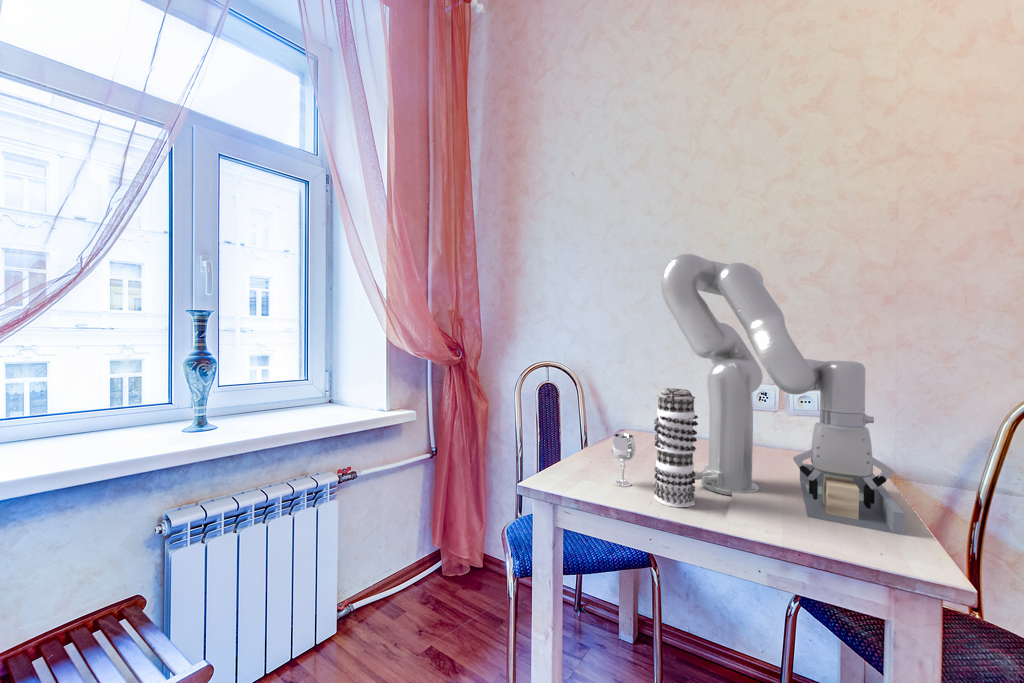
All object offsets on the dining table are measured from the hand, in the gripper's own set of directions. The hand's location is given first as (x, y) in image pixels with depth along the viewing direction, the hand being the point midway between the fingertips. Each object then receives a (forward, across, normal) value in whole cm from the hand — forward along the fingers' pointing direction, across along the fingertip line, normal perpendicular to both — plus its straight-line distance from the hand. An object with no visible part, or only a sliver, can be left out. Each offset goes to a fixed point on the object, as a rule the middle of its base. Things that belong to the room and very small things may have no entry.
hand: (840, 501), depth 91 cm
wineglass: (+2, +44, +7) cm, 45 cm away
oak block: (+1, 0, 0) cm, 1 cm away
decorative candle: (+3, +31, +12) cm, 33 cm away
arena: (+2, -1, -5) cm, 6 cm away
